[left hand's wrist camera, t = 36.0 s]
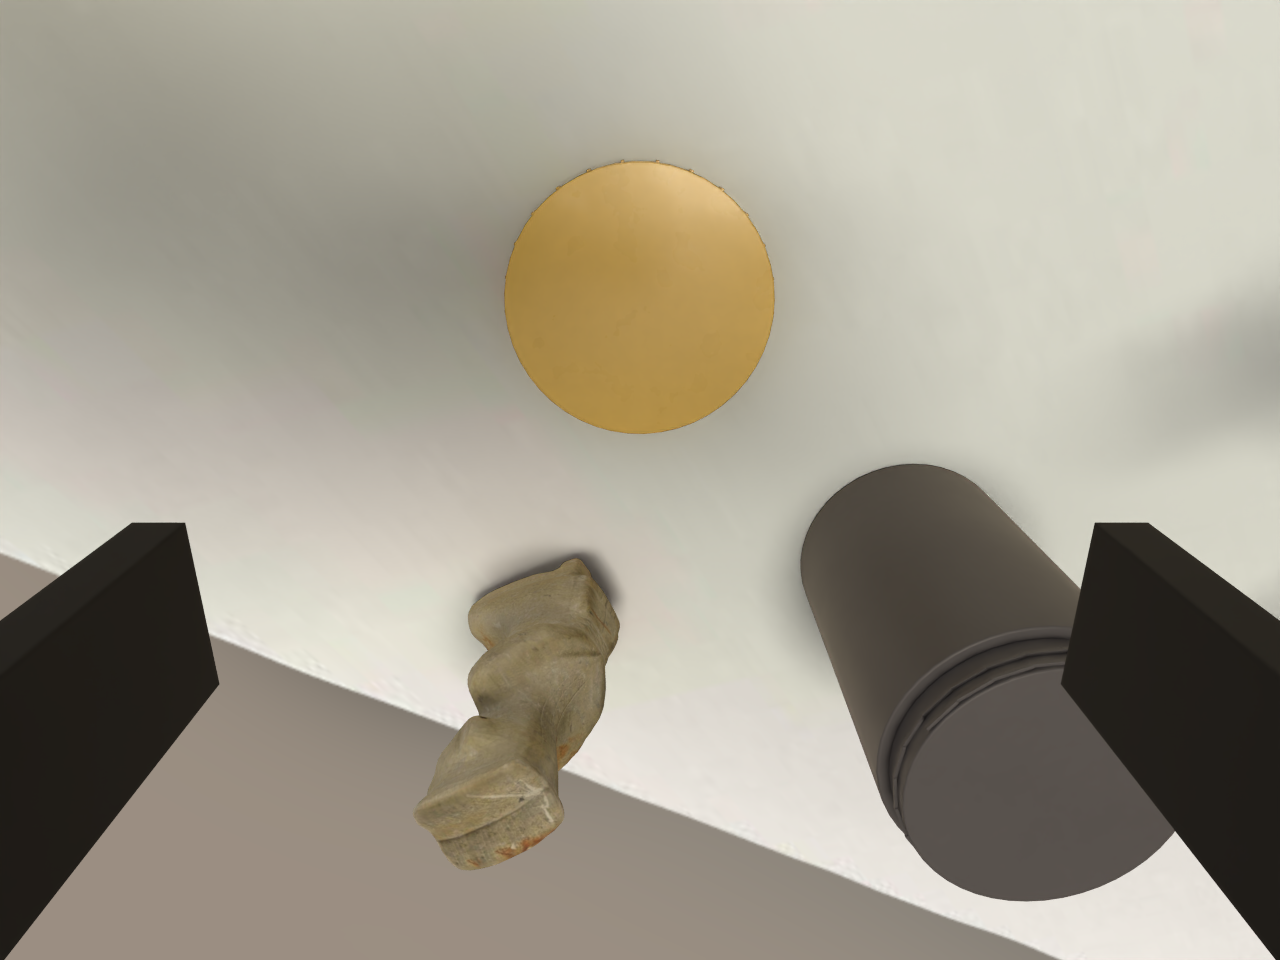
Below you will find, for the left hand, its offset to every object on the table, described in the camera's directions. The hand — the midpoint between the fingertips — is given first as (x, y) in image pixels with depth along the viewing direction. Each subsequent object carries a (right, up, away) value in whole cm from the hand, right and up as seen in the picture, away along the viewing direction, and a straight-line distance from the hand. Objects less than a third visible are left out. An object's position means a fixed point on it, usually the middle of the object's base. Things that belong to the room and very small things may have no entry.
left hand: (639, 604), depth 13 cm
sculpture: (-5, -4, +31) cm, 32 cm away
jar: (+13, -2, +30) cm, 33 cm away
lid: (0, +9, +24) cm, 26 cm away
